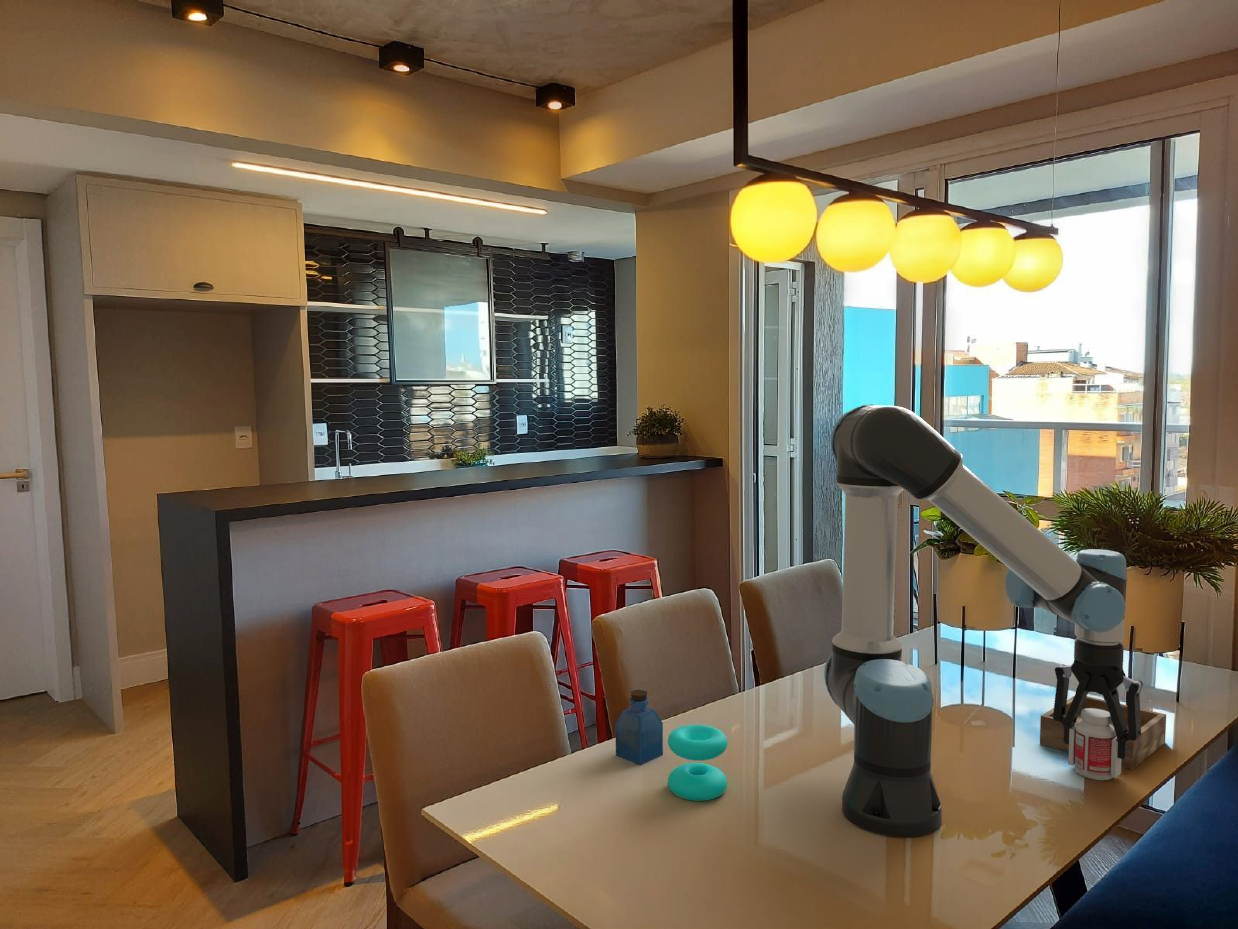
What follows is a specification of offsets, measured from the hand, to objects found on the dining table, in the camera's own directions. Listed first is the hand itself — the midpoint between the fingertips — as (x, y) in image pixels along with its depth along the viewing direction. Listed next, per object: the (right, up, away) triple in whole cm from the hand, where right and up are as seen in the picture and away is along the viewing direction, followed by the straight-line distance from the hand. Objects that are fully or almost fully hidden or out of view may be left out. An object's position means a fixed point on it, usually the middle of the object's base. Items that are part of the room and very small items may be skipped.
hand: (1094, 768), depth 155 cm
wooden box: (+9, 0, +14) cm, 16 cm away
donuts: (-70, -2, -5) cm, 70 cm away
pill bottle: (0, -1, 0) cm, 1 cm away
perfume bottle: (-80, -1, +9) cm, 80 cm away
